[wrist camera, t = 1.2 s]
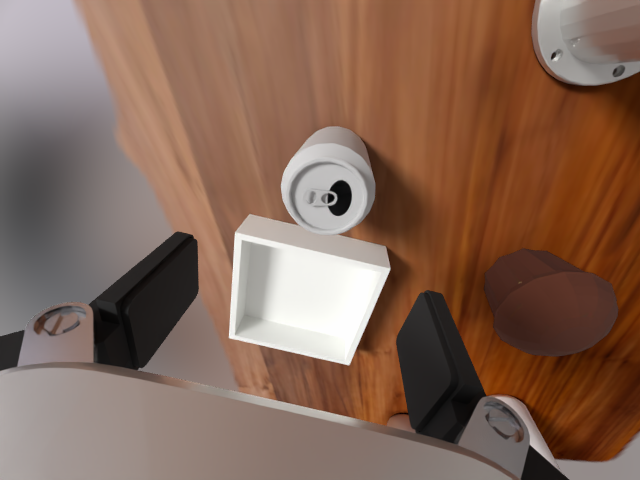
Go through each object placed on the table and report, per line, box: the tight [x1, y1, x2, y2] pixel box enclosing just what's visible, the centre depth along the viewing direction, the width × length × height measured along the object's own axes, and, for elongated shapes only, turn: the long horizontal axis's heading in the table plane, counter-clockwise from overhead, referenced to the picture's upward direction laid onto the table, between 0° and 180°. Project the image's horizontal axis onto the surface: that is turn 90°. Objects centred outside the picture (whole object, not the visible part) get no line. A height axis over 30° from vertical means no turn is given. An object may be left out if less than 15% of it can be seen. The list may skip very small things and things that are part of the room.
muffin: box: [484, 248, 618, 356], centre depth 31 cm, size 12×11×10 cm
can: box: [281, 126, 375, 235], centre depth 25 cm, size 8×8×12 cm
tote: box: [229, 214, 391, 365], centre depth 37 cm, size 18×18×5 cm
